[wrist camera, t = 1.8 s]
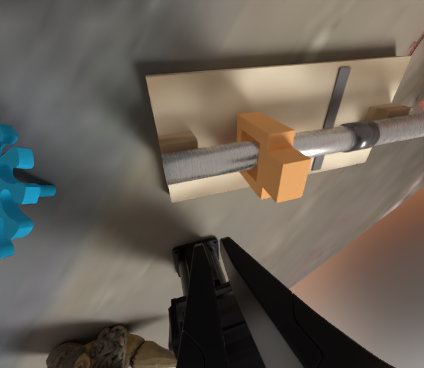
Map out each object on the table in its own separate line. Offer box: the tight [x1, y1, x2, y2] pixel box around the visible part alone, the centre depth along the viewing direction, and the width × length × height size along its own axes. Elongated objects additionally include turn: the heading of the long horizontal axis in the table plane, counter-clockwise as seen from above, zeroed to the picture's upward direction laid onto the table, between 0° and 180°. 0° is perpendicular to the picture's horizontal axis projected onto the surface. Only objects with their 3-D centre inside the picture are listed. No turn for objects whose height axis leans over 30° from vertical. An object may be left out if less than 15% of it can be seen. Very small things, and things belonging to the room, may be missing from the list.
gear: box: [0, 123, 56, 259], centre depth 15 cm, size 11×6×10 cm
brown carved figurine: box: [46, 326, 177, 368], centre depth 31 cm, size 9×22×10 cm, turn 90°
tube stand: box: [146, 56, 424, 203], centre depth 19 cm, size 12×26×6 cm, turn 92°
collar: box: [237, 112, 312, 203], centre depth 16 cm, size 5×2×7 cm, turn 3°
